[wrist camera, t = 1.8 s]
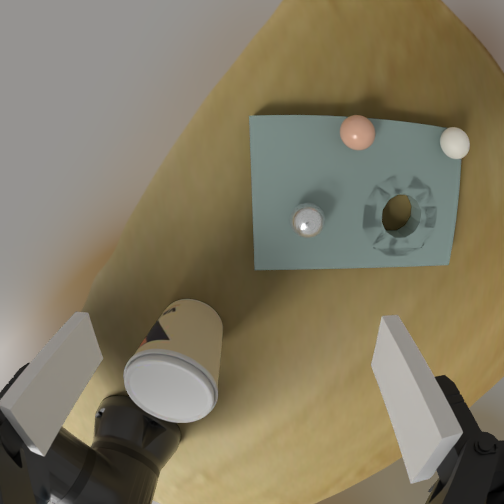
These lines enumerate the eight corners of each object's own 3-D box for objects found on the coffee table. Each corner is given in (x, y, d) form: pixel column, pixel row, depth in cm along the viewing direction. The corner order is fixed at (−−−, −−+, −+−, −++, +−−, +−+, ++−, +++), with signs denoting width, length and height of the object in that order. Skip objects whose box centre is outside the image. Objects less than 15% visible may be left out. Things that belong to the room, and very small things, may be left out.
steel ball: (288, 232, 30) (291, 243, 27) (288, 199, 29) (291, 206, 26) (321, 231, 30) (327, 242, 27) (322, 199, 29) (328, 206, 26)
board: (255, 260, 34) (254, 270, 32) (250, 117, 29) (249, 115, 27) (439, 256, 33) (448, 265, 31) (450, 129, 28) (461, 130, 25)
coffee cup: (173, 278, 36) (136, 339, 24) (244, 316, 37) (234, 388, 26) (146, 332, 39) (111, 396, 27) (209, 365, 40) (193, 435, 29)
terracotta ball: (336, 148, 27) (344, 150, 24) (335, 115, 26) (344, 112, 23) (369, 150, 27) (380, 152, 24) (368, 117, 26) (380, 115, 23)
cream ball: (434, 155, 27) (450, 159, 24) (434, 124, 26) (450, 125, 23) (458, 158, 27) (475, 162, 24) (458, 129, 25) (475, 130, 22)
